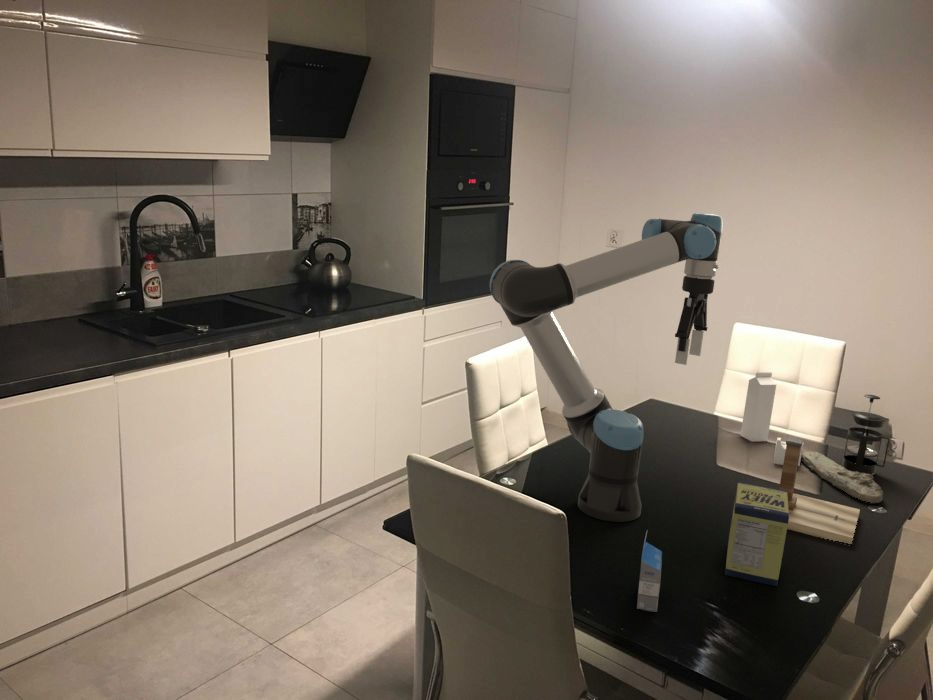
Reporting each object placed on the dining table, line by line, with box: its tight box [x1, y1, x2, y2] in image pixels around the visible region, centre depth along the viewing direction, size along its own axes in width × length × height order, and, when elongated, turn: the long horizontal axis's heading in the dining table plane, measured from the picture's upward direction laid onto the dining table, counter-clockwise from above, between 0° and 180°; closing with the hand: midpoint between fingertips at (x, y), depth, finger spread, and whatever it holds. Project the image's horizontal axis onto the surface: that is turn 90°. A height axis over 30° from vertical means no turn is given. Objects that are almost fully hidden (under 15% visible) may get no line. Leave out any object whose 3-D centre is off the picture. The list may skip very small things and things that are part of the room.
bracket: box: [773, 437, 804, 467], centre depth 239 cm, size 13×7×8 cm, turn 157°
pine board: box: [787, 492, 861, 545], centre depth 197 cm, size 20×21×2 cm
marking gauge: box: [778, 437, 804, 511], centre depth 197 cm, size 5×5×17 cm
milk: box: [740, 371, 777, 443], centre depth 255 cm, size 6×6×22 cm
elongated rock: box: [800, 450, 884, 504], centre depth 225 cm, size 35×5×10 cm
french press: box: [840, 394, 891, 474], centre depth 231 cm, size 12×9×23 cm
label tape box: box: [636, 529, 663, 613], centre depth 152 cm, size 9×4×12 cm, turn 164°
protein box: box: [724, 481, 789, 587], centre depth 169 cm, size 10×16×16 cm
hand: (687, 359), depth 204 cm, fingers open, 13 cm apart
